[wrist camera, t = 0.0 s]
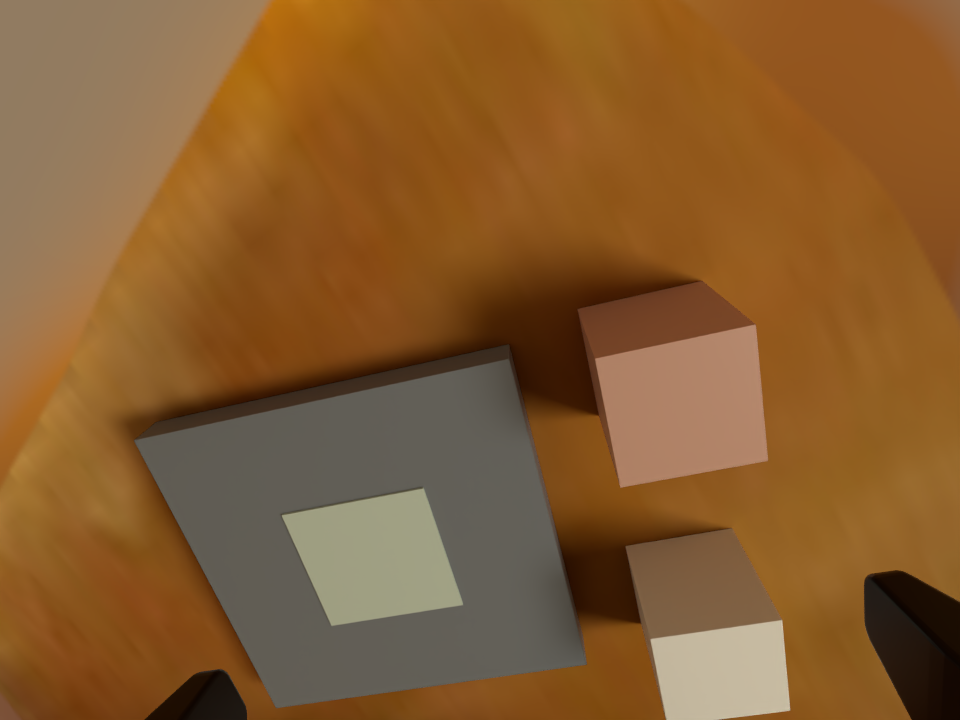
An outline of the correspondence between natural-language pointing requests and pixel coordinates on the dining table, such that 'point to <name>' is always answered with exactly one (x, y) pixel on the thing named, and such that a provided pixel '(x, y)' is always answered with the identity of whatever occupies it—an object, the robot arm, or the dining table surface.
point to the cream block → (709, 628)
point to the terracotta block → (675, 383)
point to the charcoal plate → (376, 530)
